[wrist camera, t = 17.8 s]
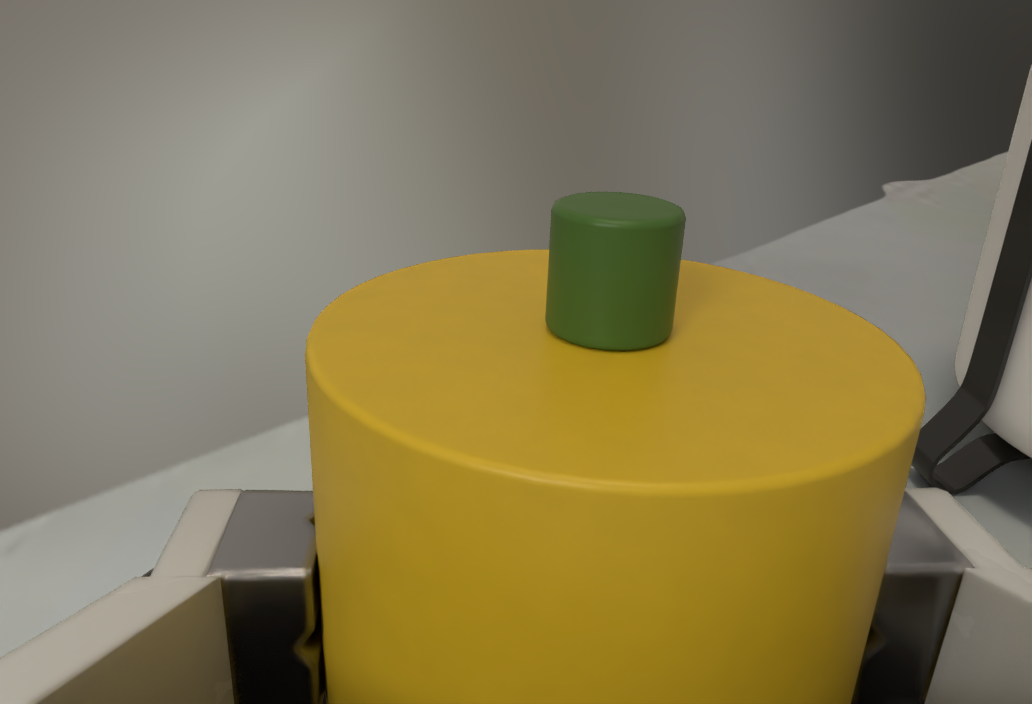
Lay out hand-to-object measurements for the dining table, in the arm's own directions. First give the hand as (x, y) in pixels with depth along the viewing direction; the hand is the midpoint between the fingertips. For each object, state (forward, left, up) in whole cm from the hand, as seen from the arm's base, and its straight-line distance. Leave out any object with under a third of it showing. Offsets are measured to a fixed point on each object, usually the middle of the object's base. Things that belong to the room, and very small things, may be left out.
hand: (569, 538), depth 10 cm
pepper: (0, -1, -5) cm, 5 cm away
